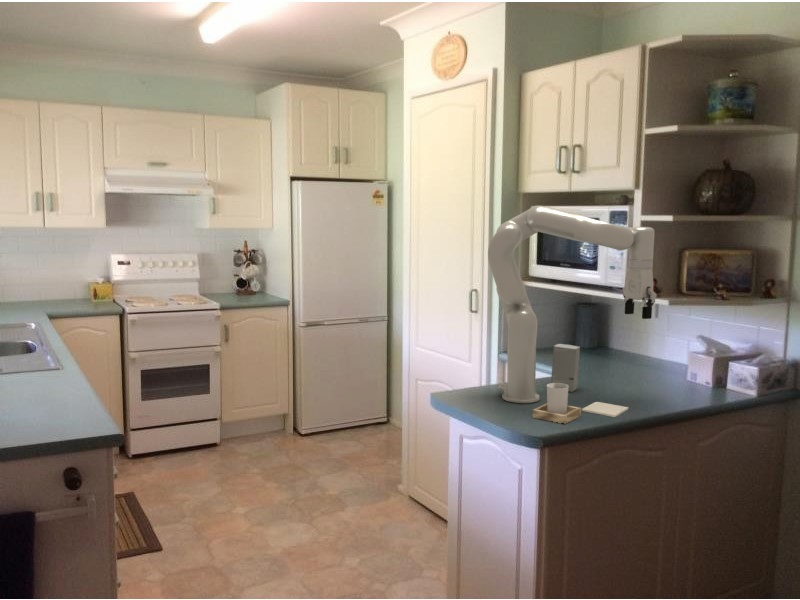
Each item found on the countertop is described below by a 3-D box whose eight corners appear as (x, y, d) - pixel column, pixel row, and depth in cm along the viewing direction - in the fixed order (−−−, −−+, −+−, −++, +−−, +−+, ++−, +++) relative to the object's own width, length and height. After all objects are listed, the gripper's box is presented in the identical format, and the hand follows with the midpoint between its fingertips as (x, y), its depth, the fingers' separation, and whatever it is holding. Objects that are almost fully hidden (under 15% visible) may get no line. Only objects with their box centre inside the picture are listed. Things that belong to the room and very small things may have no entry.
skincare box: (550, 389, 256) (551, 346, 254) (556, 385, 262) (557, 342, 260) (574, 392, 252) (575, 348, 250) (579, 387, 258) (580, 344, 256)
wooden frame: (532, 417, 224) (532, 409, 223) (549, 409, 232) (549, 402, 232) (565, 424, 217) (565, 416, 216) (580, 415, 225) (581, 408, 225)
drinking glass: (564, 413, 228) (565, 382, 226) (570, 419, 221) (571, 388, 220) (543, 413, 228) (544, 383, 226) (548, 420, 221) (549, 388, 220)
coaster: (581, 410, 230) (581, 409, 230) (596, 403, 239) (596, 401, 239) (614, 417, 224) (614, 415, 223) (628, 409, 232) (628, 407, 232)
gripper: (615, 262, 242) (613, 312, 245) (646, 267, 226) (643, 321, 228) (635, 262, 244) (632, 311, 247) (667, 267, 228) (663, 320, 230)
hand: (637, 316), depth 237 cm, fingers open, 9 cm apart
